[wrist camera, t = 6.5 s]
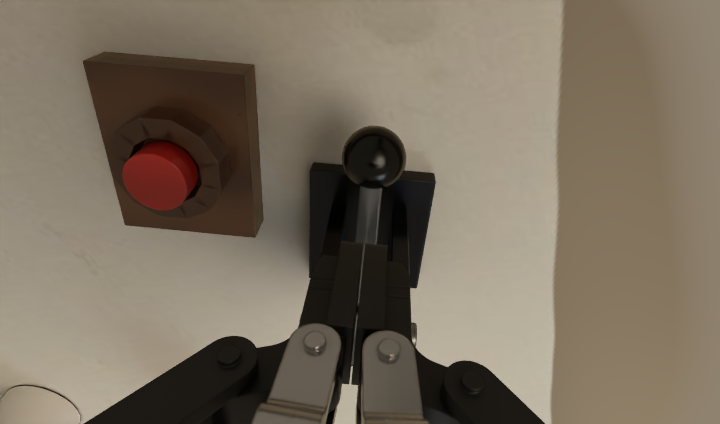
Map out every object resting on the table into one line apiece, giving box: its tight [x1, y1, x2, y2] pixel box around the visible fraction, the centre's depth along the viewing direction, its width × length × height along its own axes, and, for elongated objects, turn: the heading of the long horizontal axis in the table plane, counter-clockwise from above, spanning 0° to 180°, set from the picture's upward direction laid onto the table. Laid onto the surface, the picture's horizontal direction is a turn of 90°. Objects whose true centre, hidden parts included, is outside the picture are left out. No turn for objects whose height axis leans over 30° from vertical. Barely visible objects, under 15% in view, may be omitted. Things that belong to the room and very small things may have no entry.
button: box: [123, 141, 198, 210], centre depth 26 cm, size 4×4×2 cm
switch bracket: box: [300, 163, 436, 347], centre depth 27 cm, size 9×8×12 cm
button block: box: [83, 52, 263, 238], centre depth 28 cm, size 11×9×4 cm
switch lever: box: [342, 126, 406, 366], centre depth 23 cm, size 12×3×3 cm, turn 176°
